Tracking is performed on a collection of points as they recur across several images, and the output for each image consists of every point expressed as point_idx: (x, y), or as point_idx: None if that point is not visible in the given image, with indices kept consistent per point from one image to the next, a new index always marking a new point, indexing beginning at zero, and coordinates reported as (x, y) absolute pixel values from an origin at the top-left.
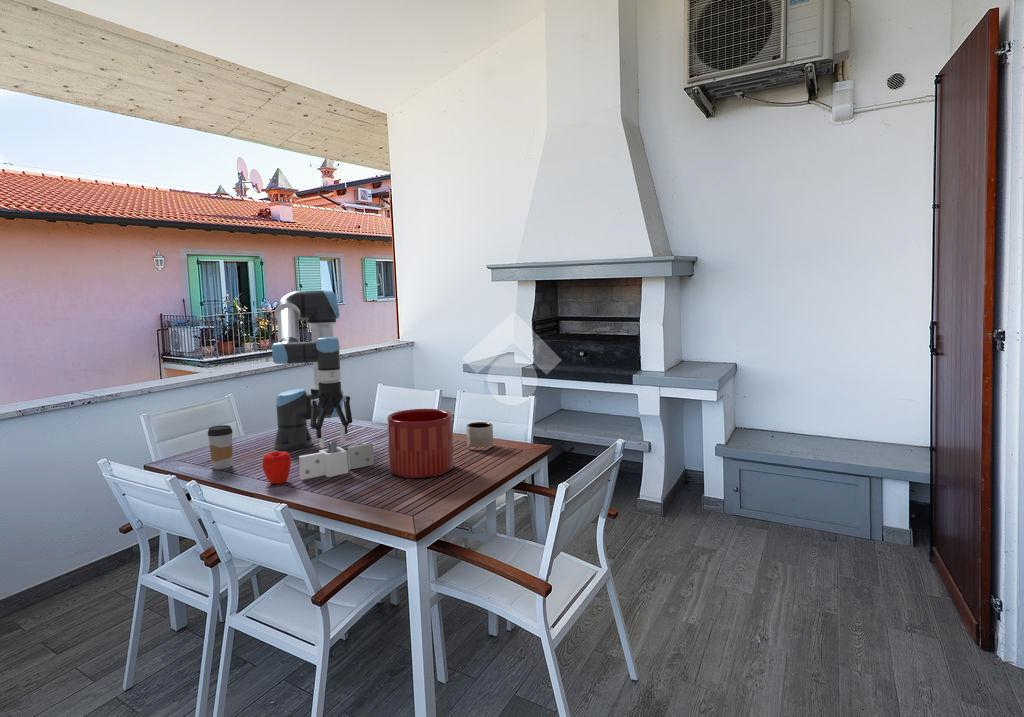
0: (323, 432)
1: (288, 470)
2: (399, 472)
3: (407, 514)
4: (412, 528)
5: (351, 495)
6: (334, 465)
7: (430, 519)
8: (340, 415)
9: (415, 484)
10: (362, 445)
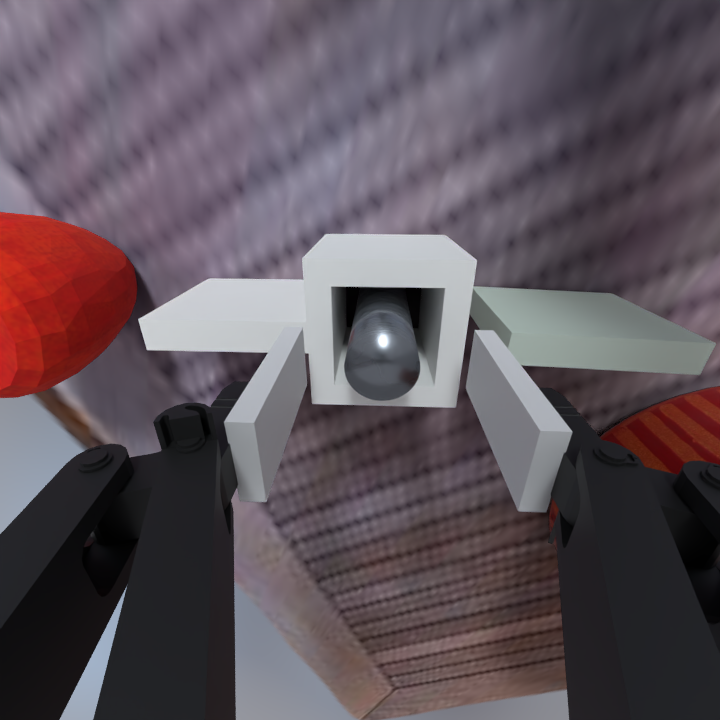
0: (273, 475)
1: (112, 340)
2: (554, 542)
3: (389, 681)
4: (362, 714)
5: (333, 550)
6: None
7: (412, 709)
8: (568, 700)
9: (538, 581)
10: (613, 367)
